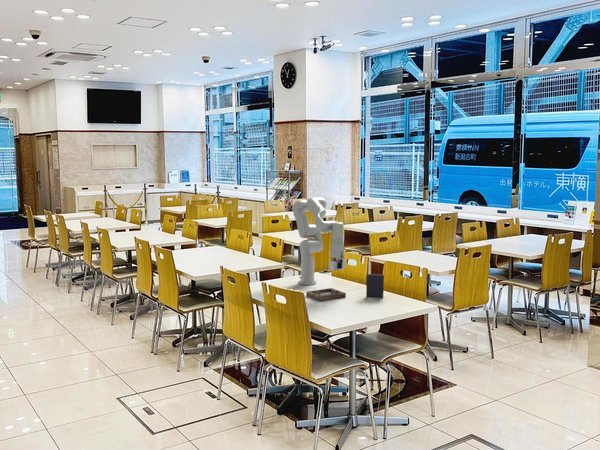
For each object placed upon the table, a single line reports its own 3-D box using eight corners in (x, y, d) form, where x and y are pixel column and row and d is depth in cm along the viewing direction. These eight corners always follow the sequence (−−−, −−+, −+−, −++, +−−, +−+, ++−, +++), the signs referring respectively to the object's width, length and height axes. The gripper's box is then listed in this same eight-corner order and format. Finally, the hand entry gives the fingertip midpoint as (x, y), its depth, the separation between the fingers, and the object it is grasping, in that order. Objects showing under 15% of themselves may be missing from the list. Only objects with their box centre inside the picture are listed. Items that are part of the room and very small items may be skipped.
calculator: (383, 296, 381) (383, 274, 379) (383, 298, 377) (383, 275, 375) (366, 296, 382) (366, 273, 380) (366, 297, 378) (366, 275, 376)
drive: (329, 269, 386) (329, 260, 385) (340, 267, 392) (340, 258, 391) (333, 270, 382) (333, 261, 381) (345, 268, 388) (345, 259, 387)
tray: (306, 296, 381) (306, 290, 380) (331, 292, 391) (331, 286, 391) (320, 301, 367) (320, 295, 367) (345, 297, 378) (345, 291, 378)
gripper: (325, 239, 390) (325, 266, 392) (340, 242, 376) (340, 270, 378) (334, 238, 394) (333, 265, 396) (350, 242, 380) (349, 269, 382)
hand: (337, 267), depth 387 cm, fingers closed on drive, 5 cm apart
